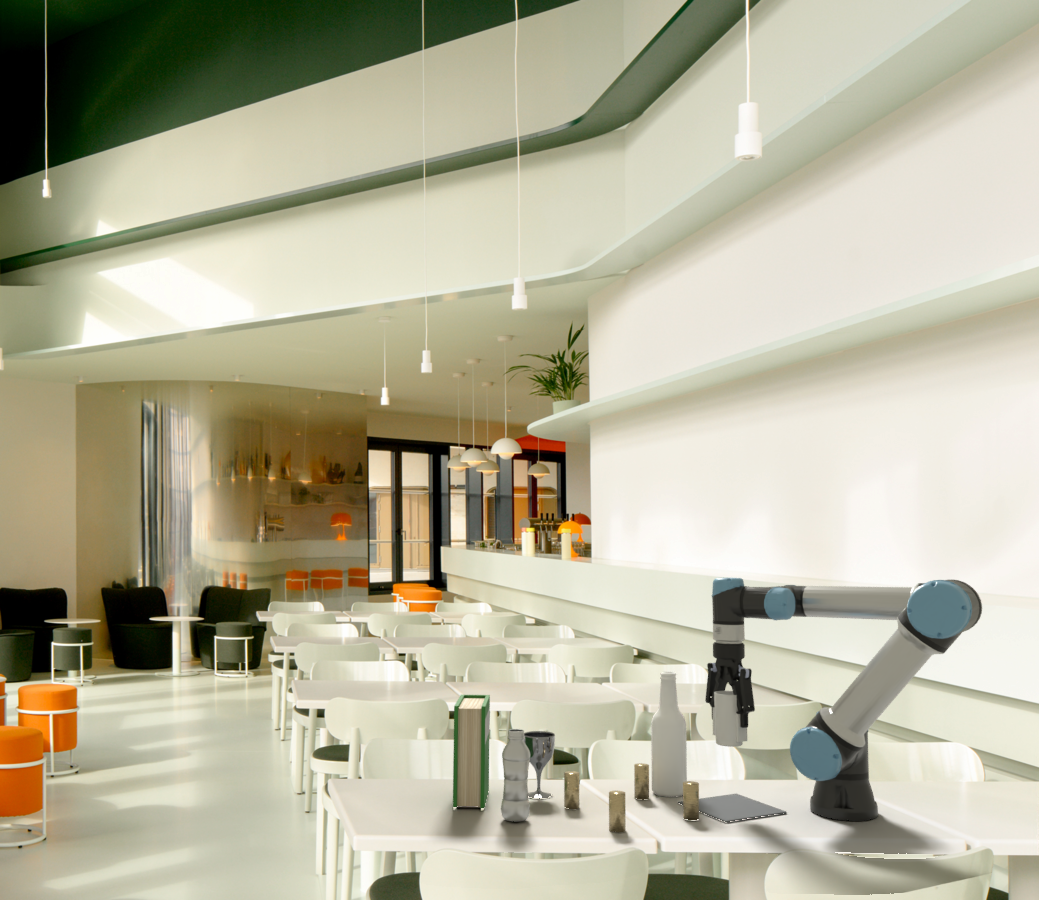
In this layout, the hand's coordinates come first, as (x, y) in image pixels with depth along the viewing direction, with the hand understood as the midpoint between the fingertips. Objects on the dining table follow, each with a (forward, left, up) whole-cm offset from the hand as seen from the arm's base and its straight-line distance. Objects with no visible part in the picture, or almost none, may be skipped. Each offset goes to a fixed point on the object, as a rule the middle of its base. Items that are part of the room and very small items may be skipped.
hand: (729, 737), depth 228 cm
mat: (0, 0, -16) cm, 16 cm away
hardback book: (+33, +53, -17) cm, 65 cm away
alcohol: (+18, +5, -17) cm, 25 cm away
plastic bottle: (+13, +51, -17) cm, 55 cm away
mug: (+1, 0, -1) cm, 2 cm away
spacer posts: (+7, +24, -16) cm, 30 cm away
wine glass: (+30, +36, -17) cm, 50 cm away
